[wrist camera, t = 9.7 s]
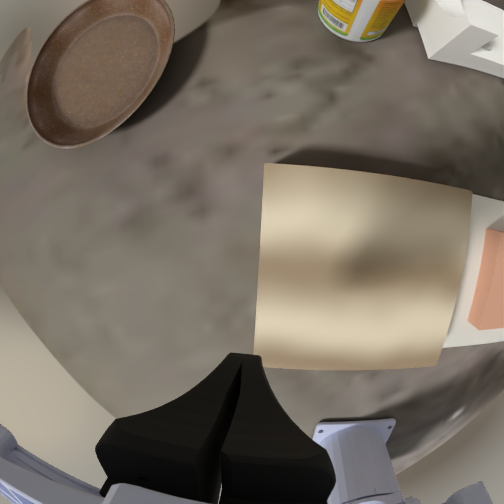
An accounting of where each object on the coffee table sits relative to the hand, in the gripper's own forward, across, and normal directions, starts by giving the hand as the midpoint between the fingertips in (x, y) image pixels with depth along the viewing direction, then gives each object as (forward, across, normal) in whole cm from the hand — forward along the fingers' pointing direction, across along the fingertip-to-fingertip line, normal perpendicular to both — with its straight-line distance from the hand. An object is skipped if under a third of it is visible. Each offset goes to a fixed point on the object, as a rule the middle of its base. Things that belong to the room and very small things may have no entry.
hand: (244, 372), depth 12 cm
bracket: (+10, -18, -24) cm, 31 cm away
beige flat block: (+9, -7, -2) cm, 12 cm away
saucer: (+10, +14, -18) cm, 25 cm away
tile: (+8, -21, -2) cm, 23 cm away
